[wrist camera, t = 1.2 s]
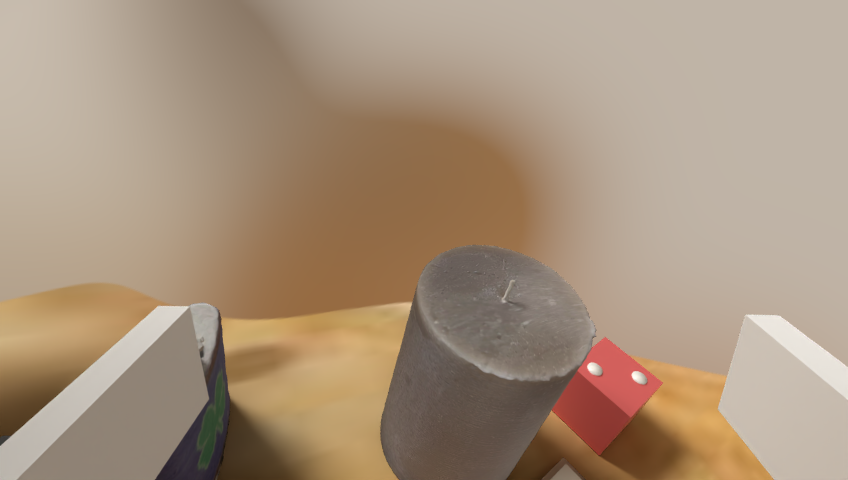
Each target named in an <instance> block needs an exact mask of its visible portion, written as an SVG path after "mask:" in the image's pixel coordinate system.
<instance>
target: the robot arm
mask: <svg viewBox="0 0 848 480" xmlns="http://www.w3.org/2000/svg"><path fill="white" fill-rule="evenodd" d="M208 400H209V396H208V391H207V386H206V382H205V377H204V372H203V367H202V362H201V358H200V353H199V348H198V343H197V338H196V334H195V329H194V324H193V319H192V314H191V310H190V306H158V307H157V308H156V309H155V310H153V311H152V312H151V313H150V314H149V315H148V316H147V317H145V318H144V319H143V320H142V321H141V322H140V323H139V324H138V325H136V326H135V327H134V328H133V329H132V330H131V331H130V332H129V333H127V334H126V335H125V336H124V337H123V338H122V339H121V340H119V341H118V342H117V343H116V344H115V345H114V346H113V347H112V348H110V349H109V350H108V351H107V352H106V353H105V354H104V355H103V356H101V357H100V358H99V359H98V360H97V361H96V362H95V363H93V364H92V365H91V366H90V367H89V368H88V369H87V370H86V371H84V372H83V373H82V374H81V375H80V376H79V377H78V378H77V379H75V380H74V381H73V382H72V383H71V384H70V385H69V386H67V387H66V388H65V389H64V390H63V391H62V392H61V393H60V394H58V395H57V396H56V397H55V398H54V399H53V400H52V401H50V402H49V403H48V404H47V405H46V406H45V407H44V408H43V409H41V410H40V411H39V412H38V413H37V414H36V415H35V416H34V417H32V418H31V419H30V420H29V421H28V422H27V423H26V424H24V425H23V426H22V427H21V428H20V429H19V430H18V431H17V432H15V433H14V434H13V435H12V436H2V437H0V480H155V479H156V477H157V476H158V474H159V473H160V471H161V470H162V468H163V467H164V465H165V464H166V462H167V461H168V459H169V458H170V456H171V455H172V453H173V452H174V450H175V449H176V447H177V446H178V445H179V443H180V442H181V440H182V439H183V437H184V436H185V434H186V433H187V431H188V430H189V428H190V427H191V425H192V424H193V422H194V421H195V419H196V418H197V416H198V415H199V413H200V412H201V410H202V409H203V407H204V406H205V404H206V403H207V401H208ZM718 410H719V411H720V412H721V414H722V415H723V416H724V417H725V419H726V420H727V421H728V422H729V424H730V425H731V426H732V427H733V429H734V430H735V431H736V432H737V434H738V435H739V436H740V437H741V439H742V440H743V441H744V442H745V444H746V445H747V446H748V447H749V449H750V450H751V451H752V452H753V454H754V455H755V456H756V457H757V459H758V460H759V461H760V462H761V464H762V465H763V466H764V467H765V469H766V470H767V471H768V472H769V474H770V475H771V476H772V477H773V479H774V480H848V367H847V366H846V365H844V364H843V363H842V362H840V361H839V360H838V359H836V358H835V357H834V356H832V355H831V354H830V353H828V352H827V351H826V350H824V349H823V348H822V347H820V346H819V345H818V344H816V343H815V342H814V341H812V340H811V339H810V338H808V337H807V336H806V335H804V334H803V333H802V332H800V331H799V330H798V329H796V328H795V327H794V326H792V325H791V324H790V323H788V322H787V321H785V320H784V319H783V318H782V317H780V316H779V315H745V318H744V321H743V324H742V328H741V331H740V335H739V338H738V342H737V345H736V349H735V352H734V356H733V359H732V362H731V366H730V369H729V373H728V376H727V379H726V383H725V386H724V390H723V393H722V397H721V400H720V403H719V407H718Z"/></svg>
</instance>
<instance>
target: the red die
mask: <svg viewBox="0 0 848 480" xmlns="http://www.w3.org/2000/svg"><path fill="white" fill-rule="evenodd" d="M662 384H663V382H661V381H660V380H659V379H657V378H656V377H655V376H654V375H652V374H651V373H650V372H649V371H647V370H646V369H645V368H644V367H642V366H641V365H640V364H639V363H637V362H636V361H635V360H634V359H632V358H631V357H630V356H628V355H627V354H626V353H625V352H623V351H622V350H621V349H620V348H618V347H617V346H616V345H615V344H613V343H612V342H611V341H610V340H608V339H607V338H606V337H605V338H604V339H602V340H601V341H600V342H599V343H597V344H596V345H595V346H593V347H592V348H591V351H590V352H589V354H588V355H587V358H586V359H585V361H584V362H583V364H582V366H580V367H579V369H578V371H577V372H576V374H575V375H574V377H573V378H572V379H571V381H570V382H569V384H568V385H567V387H566V388H565V390H564V391H563V393H562V395H561V396H560V398H559V399H558V401H557V403H556V404H555V405H554V407H553V408H552V411H553V412H554V413H555V414H556V415H558V416H559V417H560V418H561V419H562V420H563V421H564V422H565V423H566V424H567V425H568V426H569V427H570V428H571V429H572V430H573V431H574V432H575V433H576V434H577V435H578V436H579V437H580V438H581V439H583V440H584V441H585V442H586V443H587V444H588V445H589V446H590V447H591V448H592V449H593V450H594V451H595V452H596V453H597V454H598V455H600V454H601V453H602V452H603V451H604V450H605V449H606V448H607V447H608V446H609V445H610V443H611V442H612V441H613V440H614V439H615V438H616V437H617V436H618V435H619V434H620V433H621V431H622V430H623V429H624V428H625V427H626V426H627V425H628V424H629V423H630V422H631V421H632V419H633V418H634V417H635V416H636V415H637V413H638V412H639V411H640V410H641V409H642V407H643V406H644V405H645V404H646V403H647V401H648V400H649V399H650V398H651V397H652V395H653V394H654V393H655V392H656V391H657V389H658V388H659V387H660V386H661V385H662Z"/></svg>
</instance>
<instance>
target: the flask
mask: <svg viewBox="0 0 848 480" xmlns="http://www.w3.org/2000/svg"><path fill="white" fill-rule="evenodd" d="M189 306H190V310H191V314H192V319H193V324H194V329H195V334H196V338H197V343H198V348H199V353H200V358H201V362H202V367H203V372H204V377H205V382H206V386H207V391H208V396H209V400H208V401H207V403H206V404H205V406H204V407H203V409H202V410H201V412H200V413H199V415H198V416H197V418H196V419H195V421H194V422H193V424H192V425H191V427H190V428H189V430H188V431H187V433H186V434H185V436H184V437H183V439H182V440H181V442H180V443H179V445H178V446H177V447H176V449H175V450H174V452H173V453H172V455H171V456H170V458H169V459H168V461H167V462H166V464H165V465H164V467H163V468H162V470H161V471H160V473H159V474H158V476H157V477H156V479H155V480H217V476H218V475H219V472H220V466H221V464H222V461H223V451H224V447H225V442H226V441H225V440H226V437H227V436H226V435H227V429H228V425H229V416H230V396H229V392H228V383H227V375H226V368H225V354H224V345H223V337H222V325H221V316H220V312H219V310H218V309H217V308H216V307H214V306H212V305H209V304H206V303H198V304H192V305H189Z"/></svg>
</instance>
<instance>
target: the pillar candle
mask: <svg viewBox="0 0 848 480" xmlns="http://www.w3.org/2000/svg"><path fill="white" fill-rule="evenodd" d="M595 332H596V328H595V325H594V323H593V321H592V320H590V317H589V314H588V312H587V310H586V307H585V305H584V304H583V302H582V300H581V299H580V297H579V296H578V294H577V293H576V292H575V290H574V289H573V288H572V287H571V286H570V284H568V283H567V282H566V281H565V280H564V279H563V278H562V277H561V276H560V275H559V274H558V273H557V272H555V271H554V270H552V269H551V268H550V267H548V266H546V265H544V264H542V263H541V262H539V261H537V260H535V259H534V258H531V257H528V256H526V255H524V254H521V253H518V252H515V251H512V250H509V249H505V248H499V247H497V246H486V245H484V246H482V245H468V246H462V247H457V248H454V249H451V250H449V251H446V252H444V253H441V254H439V255H438V256H437V257H435V258H434V259H433V260H432V261H430V262H429V263H428V264H427V265H426V266H425V268H424V269H423V271H422V274H421V276H420V278H419V281H418V285H417V288H416V291H415V295H414V299H413V302H412V306H411V310H410V314H409V318H408V321H407V325H406V329H405V333H404V337H403V341H402V345H401V348H400V352H399V355H398V358H397V362H396V366H395V369H394V373H393V377H392V381H391V384H390V388H389V392H388V396H387V399H386V403H385V408H384V411H383V414H382V419H381V433H380V434H381V443H382V448H383V452H384V455H385V457H386V460H387V462H388V464H389V466H390V467H391V469H392V471H393V472H394V474H395V475H396V476H397V477H398V479H399V480H506V479H507V478H508V476H509V475H510V473H511V472H512V470H513V469H514V467H515V466H516V464H517V462H518V461H519V460H520V458H521V456H522V454H523V453H524V452H525V450H526V449H527V447H528V446H529V444H530V443H531V441H532V440H533V439H534V437H535V435H536V434H537V432H538V430H539V429H540V427H541V426H542V424H543V423H544V421H545V420H546V418H547V417H548V415H549V413H550V412H551V410H552V408H553V407H554V405H555V404H556V403H557V401H558V399H559V398H560V396H561V395H562V393H563V391H564V390H565V388H566V387H567V385H568V384H569V382H570V381H571V379H572V378H573V377H574V375H575V374H576V372H577V371H578V369H579V367H580V366H582V364H583V362H584V361H585V359H586V358H587V355H588V354H589V352H590V351H591V347H592V339H593V338H594V337H596V335H595Z"/></svg>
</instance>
